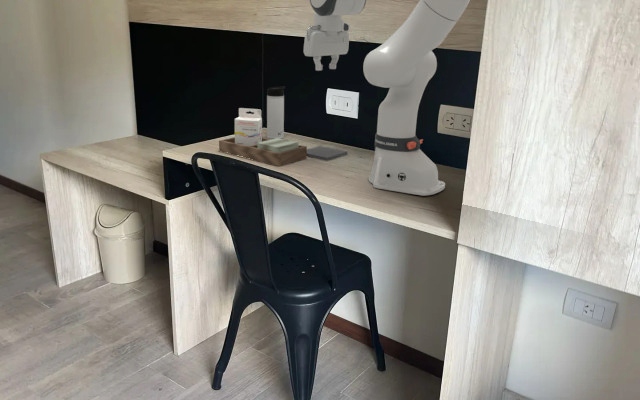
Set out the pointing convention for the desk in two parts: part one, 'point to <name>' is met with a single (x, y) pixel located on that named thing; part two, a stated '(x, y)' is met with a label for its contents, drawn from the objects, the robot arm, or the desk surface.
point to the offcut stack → (278, 145)
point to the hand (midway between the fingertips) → (325, 69)
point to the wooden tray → (263, 152)
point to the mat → (325, 153)
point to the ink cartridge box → (248, 127)
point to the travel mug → (275, 112)
